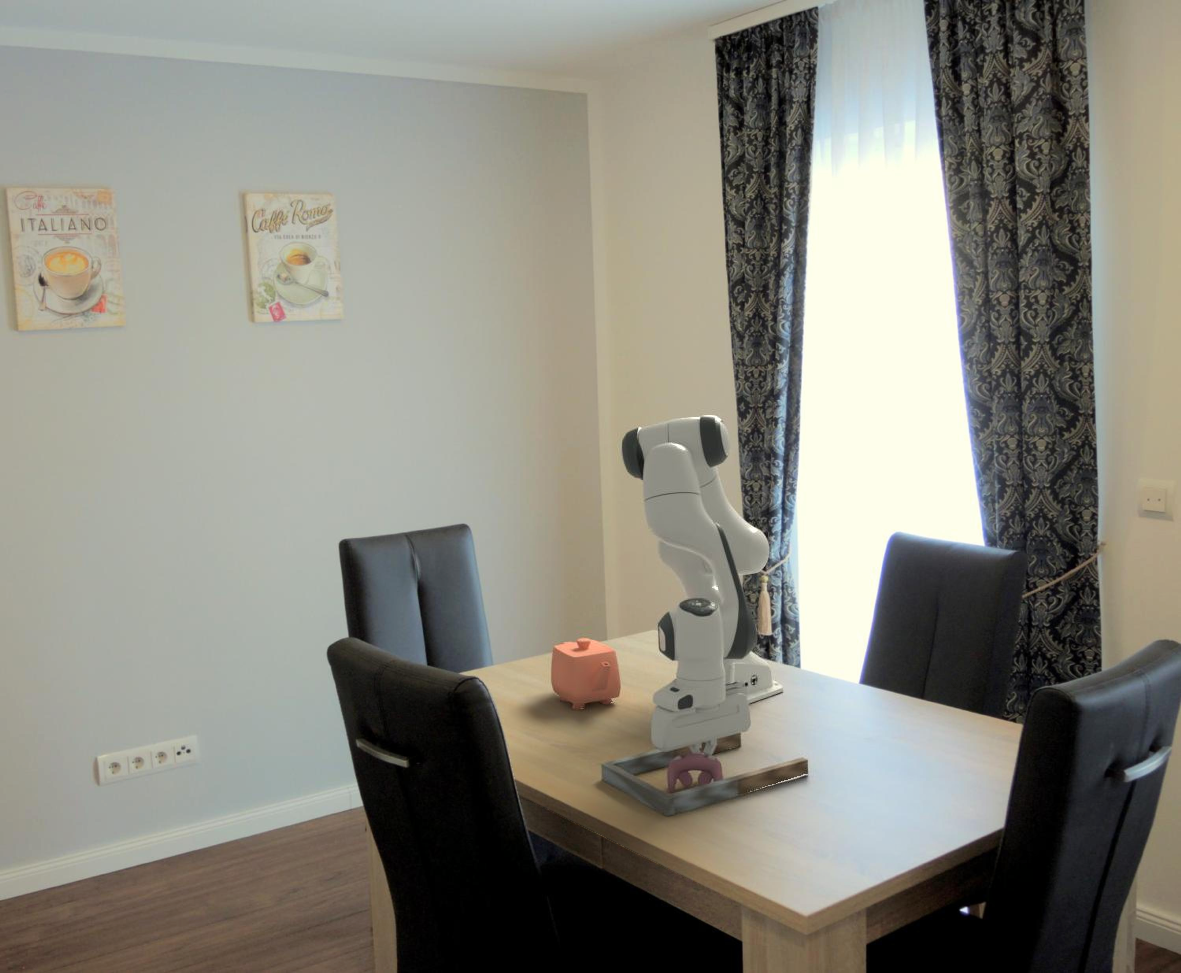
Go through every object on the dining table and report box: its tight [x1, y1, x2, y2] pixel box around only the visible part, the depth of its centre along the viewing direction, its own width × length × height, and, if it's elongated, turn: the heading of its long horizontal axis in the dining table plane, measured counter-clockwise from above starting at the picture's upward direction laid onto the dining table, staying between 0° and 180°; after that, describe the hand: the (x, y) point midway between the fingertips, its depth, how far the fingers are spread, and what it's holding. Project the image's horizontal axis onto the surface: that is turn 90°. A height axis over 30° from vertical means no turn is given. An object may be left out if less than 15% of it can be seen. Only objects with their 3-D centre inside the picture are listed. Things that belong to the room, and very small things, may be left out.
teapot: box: [550, 637, 621, 710], centre depth 258 cm, size 22×13×14 cm, turn 25°
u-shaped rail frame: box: [600, 732, 809, 817], centre depth 210 cm, size 31×21×3 cm
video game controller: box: [666, 753, 724, 794], centre depth 205 cm, size 10×5×7 cm, turn 84°
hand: (703, 763), depth 209 cm, fingers closed
